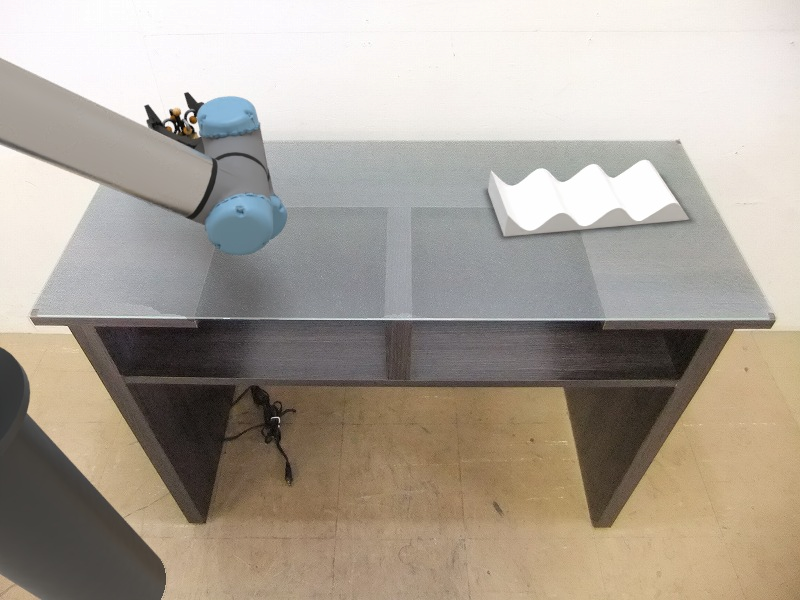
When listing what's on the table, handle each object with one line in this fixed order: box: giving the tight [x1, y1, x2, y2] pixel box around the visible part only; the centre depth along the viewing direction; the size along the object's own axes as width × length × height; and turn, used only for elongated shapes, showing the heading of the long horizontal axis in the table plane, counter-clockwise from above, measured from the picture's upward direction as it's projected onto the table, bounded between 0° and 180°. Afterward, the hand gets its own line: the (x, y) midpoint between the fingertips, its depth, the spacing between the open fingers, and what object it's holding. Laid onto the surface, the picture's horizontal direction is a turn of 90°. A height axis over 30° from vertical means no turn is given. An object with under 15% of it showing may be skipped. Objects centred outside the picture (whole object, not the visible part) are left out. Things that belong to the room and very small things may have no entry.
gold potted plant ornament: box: [162, 107, 198, 139], centre depth 103 cm, size 5×5×8 cm
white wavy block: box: [487, 159, 690, 237], centre depth 111 cm, size 13×35×5 cm, turn 97°
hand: (168, 105), depth 104 cm, fingers closed on gold potted plant ornament, 6 cm apart
